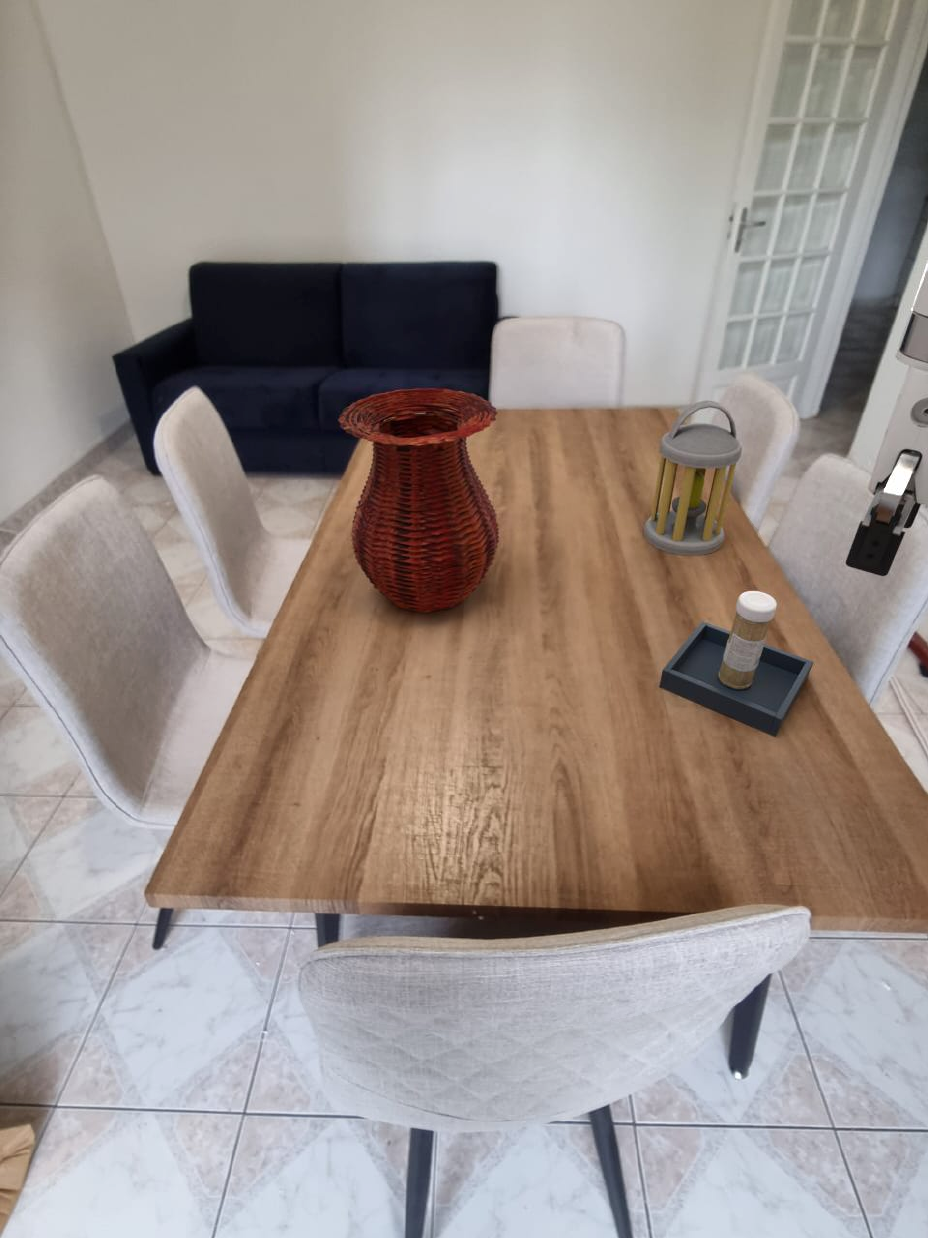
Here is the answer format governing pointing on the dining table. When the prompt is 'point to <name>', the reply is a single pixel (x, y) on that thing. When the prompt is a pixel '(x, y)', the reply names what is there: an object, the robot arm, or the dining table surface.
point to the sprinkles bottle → (746, 639)
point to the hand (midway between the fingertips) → (879, 545)
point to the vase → (422, 497)
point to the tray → (753, 706)
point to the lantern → (693, 485)
